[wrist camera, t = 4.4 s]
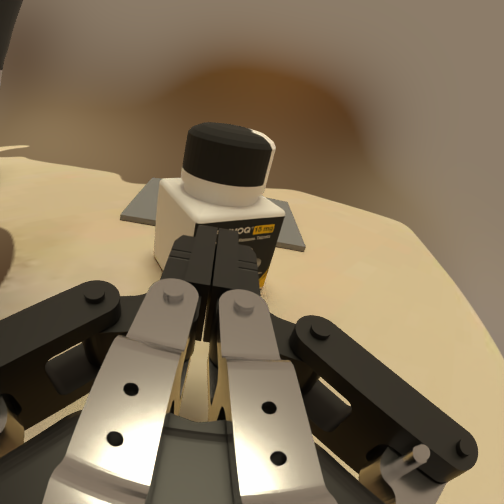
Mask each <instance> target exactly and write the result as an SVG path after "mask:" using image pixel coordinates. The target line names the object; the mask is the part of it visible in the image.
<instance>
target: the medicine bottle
mask: <svg viewBox="0 0 504 504" xmlns="http://www.w3.org/2000/svg"><path fill="white" fill-rule="evenodd" d="M275 149H276V147H275V145H274V143H273V141H272V140H270V139H269V138H268V137H267V136H266V135H265V134H263V133H260V132H258V131H255V130H251V129H248V128H245V127H241V126H236V125H231V124H222V123H211V122H208V123H202V124H199V125H196V126H193V127H192V128H191V129H190V130H189V131H188V135H187V141H186V147H185V154H184V160H183V166H182V173H181V178H167V179H166V178H165V179H162V180H160V182H159V192H158V202H157V213H156V225H155V240H154V256H155V258H156V260H157V261H158V263H159V265H160V266H161V268H162V270H164V268H165V265H166V262H167V259H168V257H169V254H170V251H171V249H172V246H173V243H174V241H175V240H176V239H178V238H179V237H180V236H182V235H187V236H193V237H195V236H196V233H197V229H198V226H199V225H205V226H211V227H217V228H218V229H217V237H218V232H219V228H223V229H228V230H234V231H238V244H240V245H245V246H250V247H251V248H252V250H253V251H254V252H255V254H256V257H257V267H258V276H259V286H260V289H261V288H262V287H263V285H264V282H265V279H266V276H267V272H268V269H269V266H270V263H271V260H272V257H273V253H274V250H275V247H276V244H277V240H278V237H279V234H280V231H281V227H282V224H283V221H284V218H285V211H284V210H283V209H281V208H280V207H279V206H277V205H276V204H274V203H273V202H271V201H270V200H268V199H267V198H265V197H264V196H262V194H263V193H264V191H265V186H266V183H267V179H268V175H269V171H270V168H271V164H272V160H273V156H274V153H275ZM217 237H216V242H217ZM215 248H216V244H215ZM214 253H215V251H214Z"/></svg>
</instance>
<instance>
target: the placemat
mask: <svg viewBox="0 0 504 504" xmlns="http://www.w3.org/2000/svg"><path fill="white" fill-rule="evenodd" d="M160 180H162V179H158V178H152V179H151V180H150V181H149V182H148V183H147V184H146V185H145V187H144V188H143V189H142V190H141V191H140V192H139V193H138V194H137V196H136V197H135V198H134V199H133V200H132V201H131V203H130V204H129V205H128V206H127V207H126V209H125V210H124V211H123V212H122V213H121V215H120V220H125V221H131V222H137V223H143V224H149V225H156V213H157V202H158V192H159V182H160ZM265 198H266V197H265ZM267 199H268V200H270V201H271V202H273V203H274V204H276V205H277V206H279V207H280V208H281V209H283V210H284V211H285V218H284V221H283V224H282V227H281V231H280V234H279V237H278V240H277V244H276V247H281V248H287V249H292V250H298V251H303V252H304V250H305V244H304V242H303V239H302V237H301V234H300V232H299V229H298V227H297V224H296V222H295V219H294V217H293V214H292V212H291V210H290V207H289V205H288V202H285V201H280V200H275V199H270V198H267Z"/></svg>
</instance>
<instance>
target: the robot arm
mask: <svg viewBox="0 0 504 504" xmlns="http://www.w3.org/2000/svg"><path fill="white" fill-rule="evenodd" d="M22 1H23V0H0V84H1V76H2V69H3V64H4V59H5V56H6V53H7V50H8V47H9V43H10V39H11V35H12V31H13V28H14V24H15V22H16V19H17V16H18V13H19V10H20V7H21V4H22ZM217 229H218V228H217V227H211V226H205V225H199V226H198V229H197V233H196V236H195V237H193V236H187V235H182V236H180V237H179V238H178V239H176V240H175V241H174V243H173V246H172V249H171V251H170V254H169V257H168V259H167V262H166V265H165V268H164V270H163V273H162V276H161V279H160V280H159V281H157V282H155V283H154V284H153V285H151V287H150V288H149V290H148V292H147V293H146V294H143V295H138V296H120V294H119V291H118V289H117V288H116V287H115V286H114V285H112V284H111V283H108V282H105V281H100V280H94V281H88V282H85V283H82V284H80V285H78V286H75V287H73V288H71V289H69V290H66V291H64V292H62V293H59V294H57V295H55V296H53V297H50V298H48V299H46V300H44V301H41V302H39V303H37V304H35V305H33V306H30V307H28V308H26V309H24V310H22V311H20V312H17V313H15V314H13V315H11V316H9V317H7V318H5V319H2V320H0V504H436V502H437V500H438V498H439V496H440V495H441V493H442V491H443V489H444V487H445V485H446V483H447V482H448V481H450V480H452V479H454V478H456V477H457V476H459V475H461V474H462V473H464V472H466V471H467V470H469V469H471V468H472V467H473V466H474V465H475V463H476V461H477V457H478V447H477V444H476V441H475V439H474V438H473V436H472V435H471V434H470V433H469V432H468V431H467V430H465V429H464V428H463V427H462V426H460V425H459V424H458V423H457V422H455V421H454V420H453V419H452V418H450V417H449V416H448V415H447V414H445V413H444V412H443V411H442V410H440V409H439V408H438V407H437V406H435V405H434V404H433V403H432V402H430V401H429V400H428V399H427V398H425V397H424V396H423V395H422V394H420V393H419V392H418V391H417V390H415V389H414V388H413V387H412V386H410V385H409V384H408V383H407V382H405V381H404V380H403V379H402V378H400V377H399V376H398V375H397V374H395V373H394V372H393V371H392V370H390V369H389V368H388V367H387V366H385V365H384V364H383V363H382V362H380V361H379V360H378V359H377V358H375V357H374V356H373V355H372V354H370V353H369V352H368V351H367V350H366V349H364V348H363V347H362V346H361V345H359V344H358V343H357V342H356V341H354V340H353V339H352V338H351V337H349V336H348V335H347V334H346V333H344V332H343V331H342V330H341V329H340V328H338V327H337V326H336V325H335V324H333V323H332V322H331V321H329V320H327V319H325V318H323V317H320V316H314V315H309V316H304V317H302V318H300V319H299V320H298V321H297V323H296V324H294V323H291V322H289V321H286V320H283V319H280V318H278V317H276V316H274V315H273V314H271V313H270V312H269V309H268V305H267V303H266V302H265V301H264V299H263V298H261V295H260V286H259V276H258V267H257V257H256V254H255V252H254V251H253V250H252V248H251V247H250V246H245V245H240V244H238V231H234V230H228V229H223V228H219V232H218V237H217ZM216 237H217V242H216ZM215 244H216V248H215ZM214 251H215V253H214ZM206 307H207V310H206ZM205 313H206V319H205ZM204 319H205V328H204V337H203V341H204V342H210V346H209V354H208V359H207V384H208V422H193V421H190V420H188V419H185V418H182V417H180V416H179V411H180V405H181V401H182V396H183V391H184V387H185V382H186V378H187V373H188V369H189V364H190V360H191V355H192V354H193V351H194V345H195V340H197V341H201V338H202V331H203V325H204ZM80 342H82V343H81V344H80V345H78V346H76V347H74V348H72V349H70V350H68V351H66V352H65V353H63V354H61V355H59V356H57V357H55V358H53V359H51V360H50V361H48V360H49V359H50V358H52V357H53V356H55V355H57V354H59V353H61V352H63V351H65V350H67V349H69V348H70V347H72V346H74V345H76V344H78V343H80ZM320 376H321V377H322V378H323V379H324V380H325V381H326V382H327V383H328V384H330V385H331V386H332V387H333V388H334V389H335V390H336V391H338V392H339V393H340V394H341V395H342V396H343V397H344V398H346V399H347V400H348V401H349V403H350V404H351V406H348V405H347V404H345V403H344V402H343V401H342V400H341V399H340V398H338V397H337V396H336V395H335V394H334V393H333V392H332V391H330V390H329V389H328V388H327V387H326V386H325V385H324V384H323V383H321V382H320V381H319V380H318V379H319V378H320ZM88 393H89V395H88V398H87V400H86V403H85V405H84V407H83V410H80V411H77V412H74V413H72V414H70V415H68V416H66V417H64V418H63V419H61V420H60V421H58V422H57V423H55V424H54V425H52V426H50V427H49V428H47V429H46V430H44V431H43V432H41V433H40V434H38V435H36V436H35V437H33V438H32V439H30V440H28V441H27V442H25V443H24V431H25V430H27V429H28V428H30V427H32V426H34V425H35V424H37V423H39V422H41V421H42V420H44V419H46V418H47V417H49V416H51V415H53V414H54V413H56V412H58V411H59V410H61V409H63V408H65V407H66V406H68V405H70V404H71V403H73V402H75V401H76V400H78V399H80V398H81V397H83V396H85V395H86V394H88ZM312 434H313V435H314V436H315V437H316V438H317V439H319V440H320V441H321V442H322V443H323V444H324V445H325V446H326V447H327V448H329V449H330V450H331V451H332V452H333V453H334V454H335V455H337V456H338V457H339V458H340V459H341V460H342V461H344V462H345V463H346V464H347V465H348V466H350V467H351V468H352V469H353V470H354V471H356V472H357V473H358V474H359V481H358V480H357V479H356V478H355V477H354V476H352V475H351V474H350V473H349V472H348V471H347V470H346V469H345V468H343V467H342V466H341V465H340V464H339V463H338V462H337V461H336V460H335V459H334V458H333V457H332V456H331V455H329V454H328V453H327V452H326V451H325V450H324V449H323V448H322V447H320V446H319V445H318V444H316V443H315V442H314V440H313V437H312Z"/></svg>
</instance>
